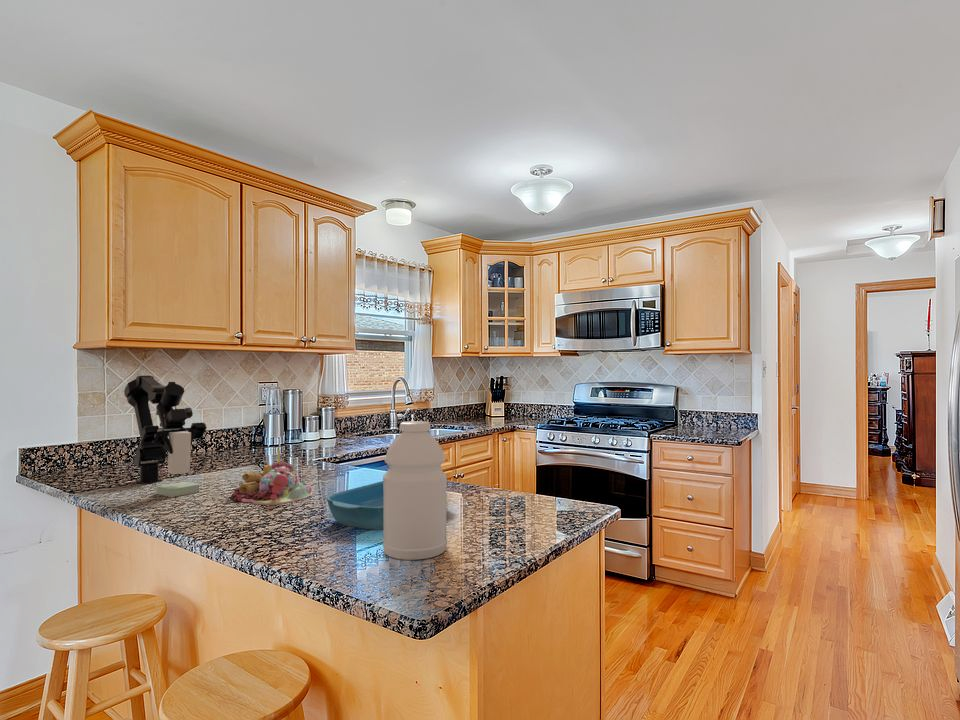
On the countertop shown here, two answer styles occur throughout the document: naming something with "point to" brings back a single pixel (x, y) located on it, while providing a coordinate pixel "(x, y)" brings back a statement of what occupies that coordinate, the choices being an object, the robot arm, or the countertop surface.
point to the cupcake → (282, 464)
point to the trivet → (177, 489)
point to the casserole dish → (359, 506)
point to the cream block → (179, 452)
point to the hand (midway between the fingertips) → (180, 452)
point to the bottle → (414, 495)
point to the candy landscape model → (271, 487)
